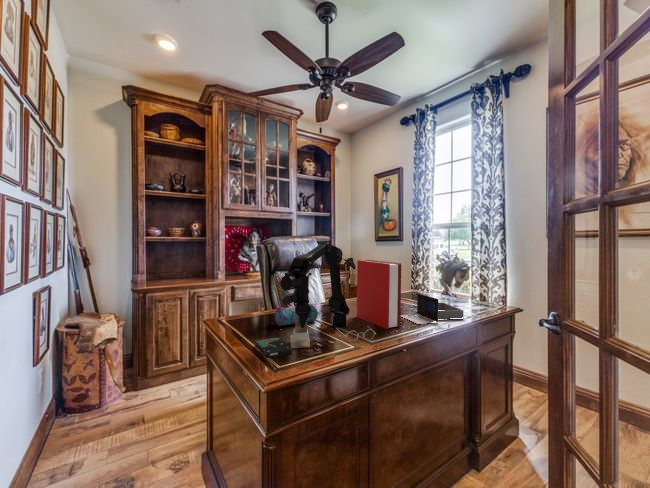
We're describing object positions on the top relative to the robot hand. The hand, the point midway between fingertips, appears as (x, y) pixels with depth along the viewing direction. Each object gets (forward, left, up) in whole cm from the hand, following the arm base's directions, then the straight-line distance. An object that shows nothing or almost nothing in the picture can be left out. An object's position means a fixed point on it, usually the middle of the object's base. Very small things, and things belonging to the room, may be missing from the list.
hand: (301, 324), depth 123 cm
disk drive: (+11, +5, -9) cm, 15 cm away
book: (-42, -29, -8) cm, 52 cm away
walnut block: (0, 0, -2) cm, 3 cm away
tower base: (+1, 0, -8) cm, 9 cm away
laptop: (-66, -30, -8) cm, 73 cm away
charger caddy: (-83, -38, -8) cm, 92 cm away
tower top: (0, +1, -6) cm, 6 cm away
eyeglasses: (-25, -10, -9) cm, 28 cm away
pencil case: (+1, -30, -8) cm, 31 cm away
